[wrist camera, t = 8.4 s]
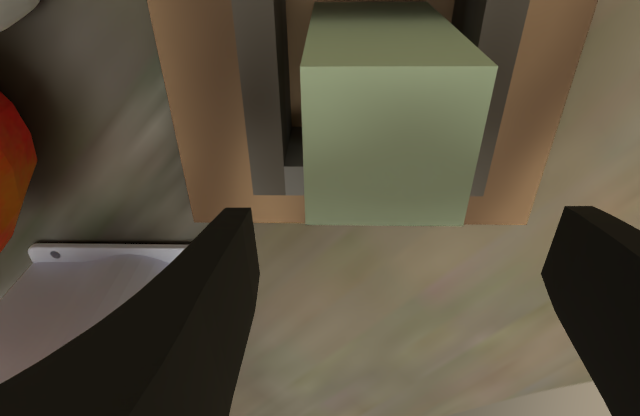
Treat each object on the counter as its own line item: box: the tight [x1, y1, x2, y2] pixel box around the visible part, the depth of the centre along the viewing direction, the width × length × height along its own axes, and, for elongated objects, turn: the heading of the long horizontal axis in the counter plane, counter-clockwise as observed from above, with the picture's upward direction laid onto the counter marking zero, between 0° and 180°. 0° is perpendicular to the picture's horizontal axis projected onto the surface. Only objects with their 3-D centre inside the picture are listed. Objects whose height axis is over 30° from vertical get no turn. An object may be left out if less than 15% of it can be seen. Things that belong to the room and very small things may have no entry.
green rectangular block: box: [300, 2, 498, 226], centre depth 13 cm, size 4×4×8 cm
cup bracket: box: [147, 0, 598, 225], centre depth 15 cm, size 16×16×4 cm
